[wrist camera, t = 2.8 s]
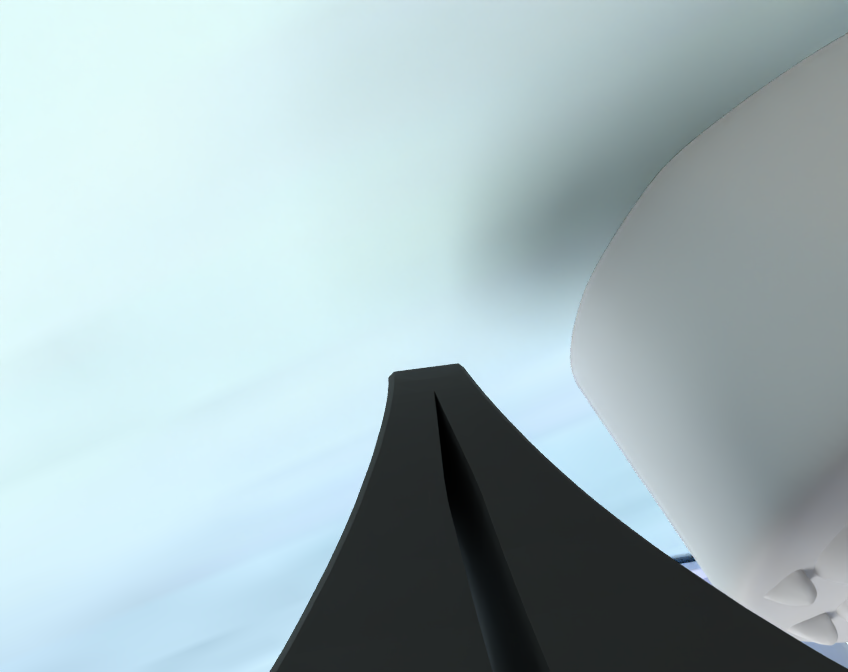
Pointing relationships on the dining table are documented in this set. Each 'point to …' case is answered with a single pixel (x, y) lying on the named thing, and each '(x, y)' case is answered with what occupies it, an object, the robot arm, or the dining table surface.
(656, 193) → the lumpy-topped squat cylinder
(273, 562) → the dining table surface
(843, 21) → the dining table surface
